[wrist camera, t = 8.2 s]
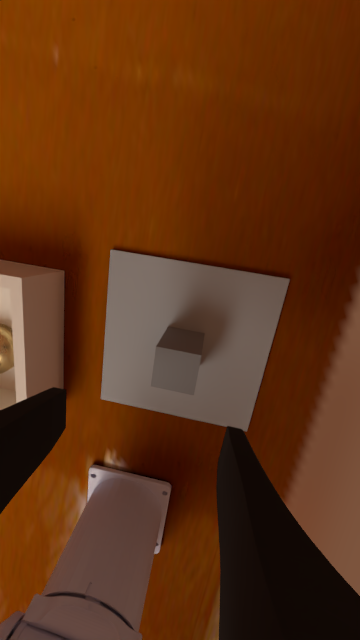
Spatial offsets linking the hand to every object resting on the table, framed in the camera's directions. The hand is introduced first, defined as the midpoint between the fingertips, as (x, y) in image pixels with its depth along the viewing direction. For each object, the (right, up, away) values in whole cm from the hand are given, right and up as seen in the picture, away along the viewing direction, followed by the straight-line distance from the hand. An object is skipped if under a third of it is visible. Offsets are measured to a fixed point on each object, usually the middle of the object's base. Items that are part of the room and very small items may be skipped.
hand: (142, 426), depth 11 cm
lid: (+2, +3, +9) cm, 10 cm away
